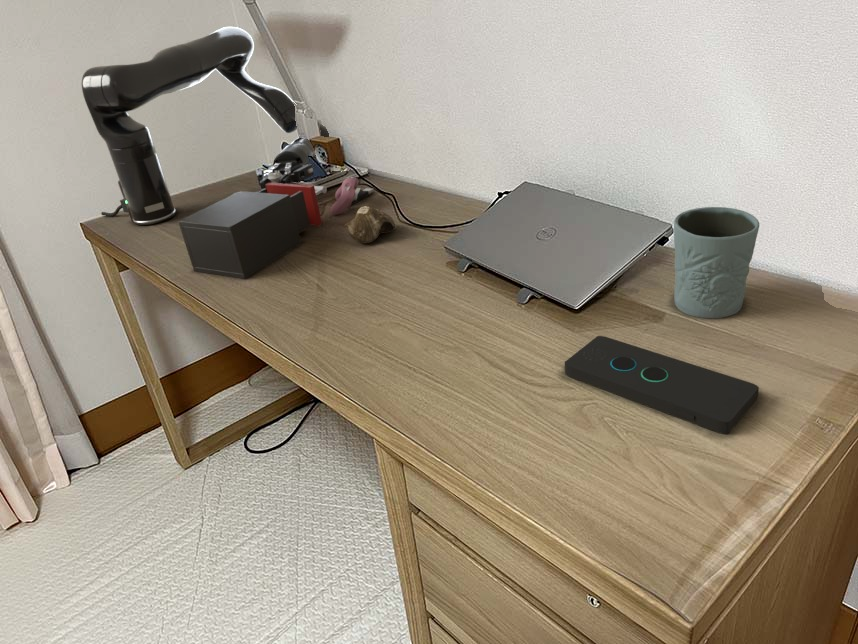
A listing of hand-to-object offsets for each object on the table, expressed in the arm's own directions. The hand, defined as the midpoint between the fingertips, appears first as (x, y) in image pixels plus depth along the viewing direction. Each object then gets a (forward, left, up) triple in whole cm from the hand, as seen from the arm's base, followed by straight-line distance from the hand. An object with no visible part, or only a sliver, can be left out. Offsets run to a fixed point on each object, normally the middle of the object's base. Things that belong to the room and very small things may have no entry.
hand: (271, 185), depth 148 cm
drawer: (+11, -10, -5) cm, 16 cm away
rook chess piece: (-1, +3, -6) cm, 7 cm away
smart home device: (+90, -38, -6) cm, 98 cm away
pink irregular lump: (+15, +6, -6) cm, 17 cm away
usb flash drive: (+13, +11, -6) cm, 18 cm away
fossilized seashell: (+30, -7, -6) cm, 31 cm away
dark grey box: (+11, -21, -6) cm, 25 cm away
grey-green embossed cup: (+92, -17, -6) cm, 94 cm away
